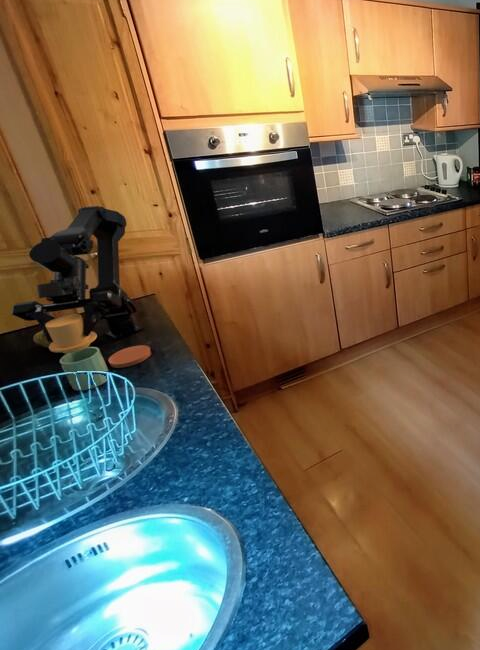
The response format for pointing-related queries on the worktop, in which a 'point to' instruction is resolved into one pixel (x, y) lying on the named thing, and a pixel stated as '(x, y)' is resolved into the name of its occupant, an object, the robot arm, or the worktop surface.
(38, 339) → the potato
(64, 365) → the pale green cylinder
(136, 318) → the worktop surface
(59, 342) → the orange top hat
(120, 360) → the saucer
